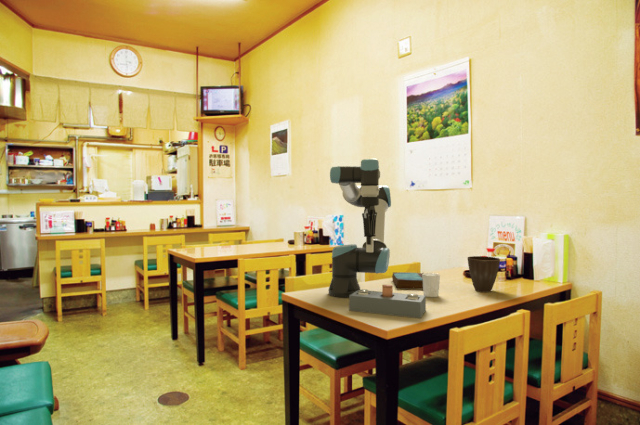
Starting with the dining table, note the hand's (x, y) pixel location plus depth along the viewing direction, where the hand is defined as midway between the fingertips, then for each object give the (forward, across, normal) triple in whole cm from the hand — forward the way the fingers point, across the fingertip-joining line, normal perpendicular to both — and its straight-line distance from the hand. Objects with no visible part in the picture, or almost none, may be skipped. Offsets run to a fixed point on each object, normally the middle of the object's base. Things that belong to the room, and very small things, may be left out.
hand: (369, 252), depth 169 cm
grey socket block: (+22, -7, -10) cm, 25 cm away
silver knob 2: (+20, -7, -20) cm, 29 cm away
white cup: (+23, +27, -21) cm, 41 cm away
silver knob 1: (+20, -7, 0) cm, 22 cm away
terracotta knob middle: (+18, -7, -10) cm, 21 cm away
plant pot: (+24, +50, -42) cm, 69 cm away
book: (+24, +50, -6) cm, 56 cm away
